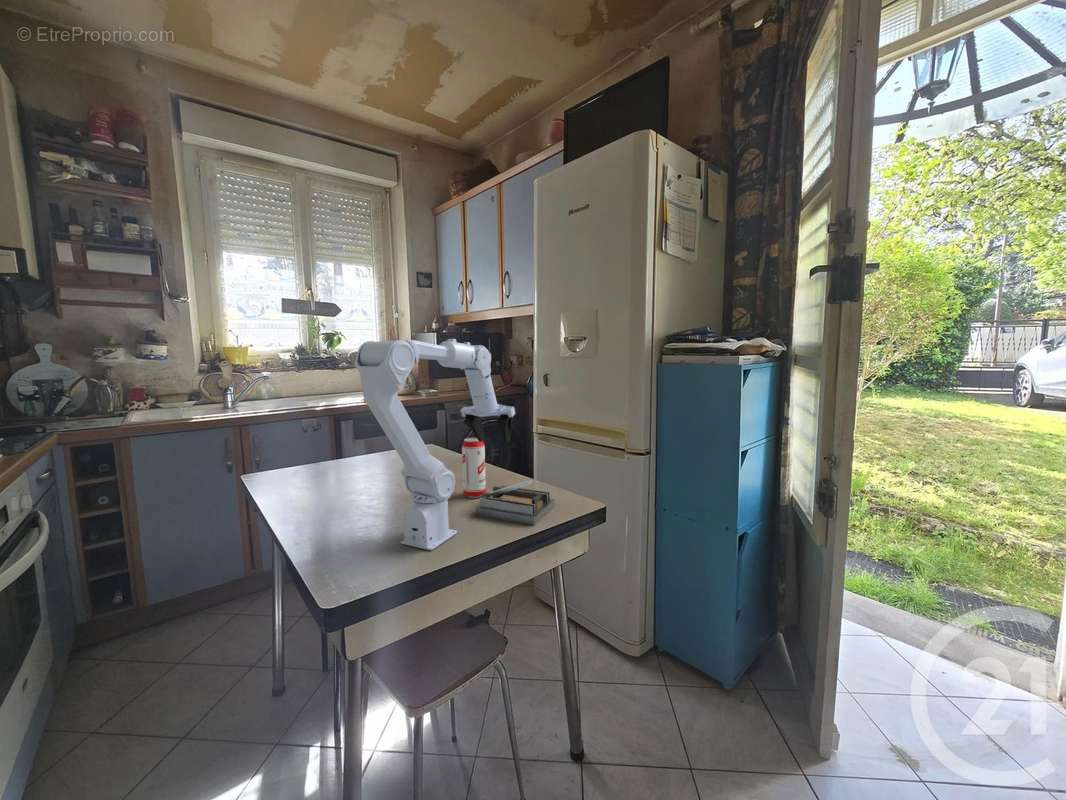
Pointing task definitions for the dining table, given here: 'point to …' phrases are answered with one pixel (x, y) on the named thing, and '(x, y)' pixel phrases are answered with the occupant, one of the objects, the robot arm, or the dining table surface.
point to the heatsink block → (516, 505)
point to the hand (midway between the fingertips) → (494, 440)
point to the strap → (511, 487)
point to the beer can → (473, 468)
